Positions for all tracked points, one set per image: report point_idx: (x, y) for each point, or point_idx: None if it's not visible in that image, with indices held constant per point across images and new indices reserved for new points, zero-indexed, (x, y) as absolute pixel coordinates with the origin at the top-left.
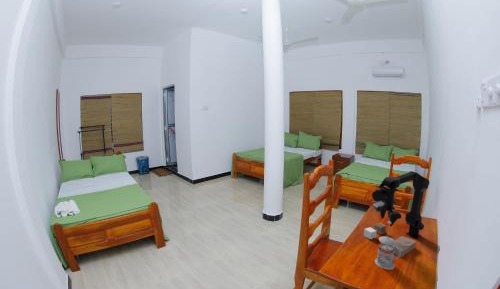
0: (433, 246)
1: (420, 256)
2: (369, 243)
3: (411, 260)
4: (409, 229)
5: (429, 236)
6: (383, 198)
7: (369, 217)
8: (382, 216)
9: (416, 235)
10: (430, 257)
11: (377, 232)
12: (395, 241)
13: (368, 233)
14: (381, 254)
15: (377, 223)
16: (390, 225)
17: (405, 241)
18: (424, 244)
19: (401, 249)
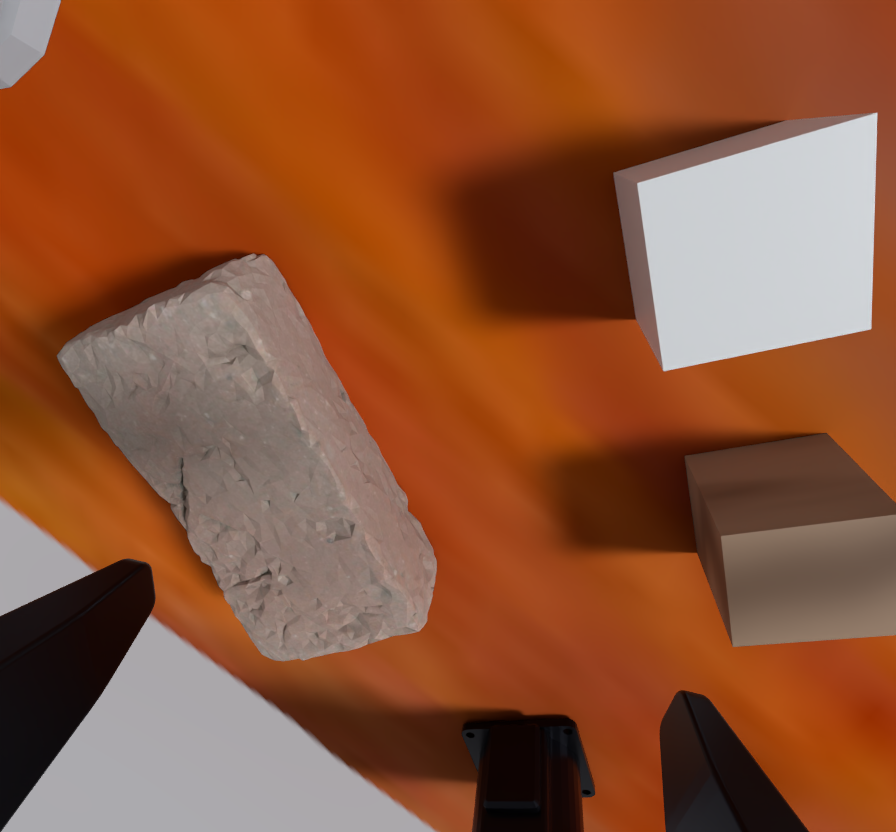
0: (316, 737)
1: (155, 529)
2: (502, 49)
3: (69, 388)
4: (529, 799)
5: (470, 825)
6: None
7: None
8: (694, 807)
9: (479, 764)
10: None
11: (749, 449)
12: (301, 452)
13: (703, 156)
14: None
15: (893, 583)
16: (98, 584)
17: (290, 571)
18: (354, 707)
19: (89, 375)
